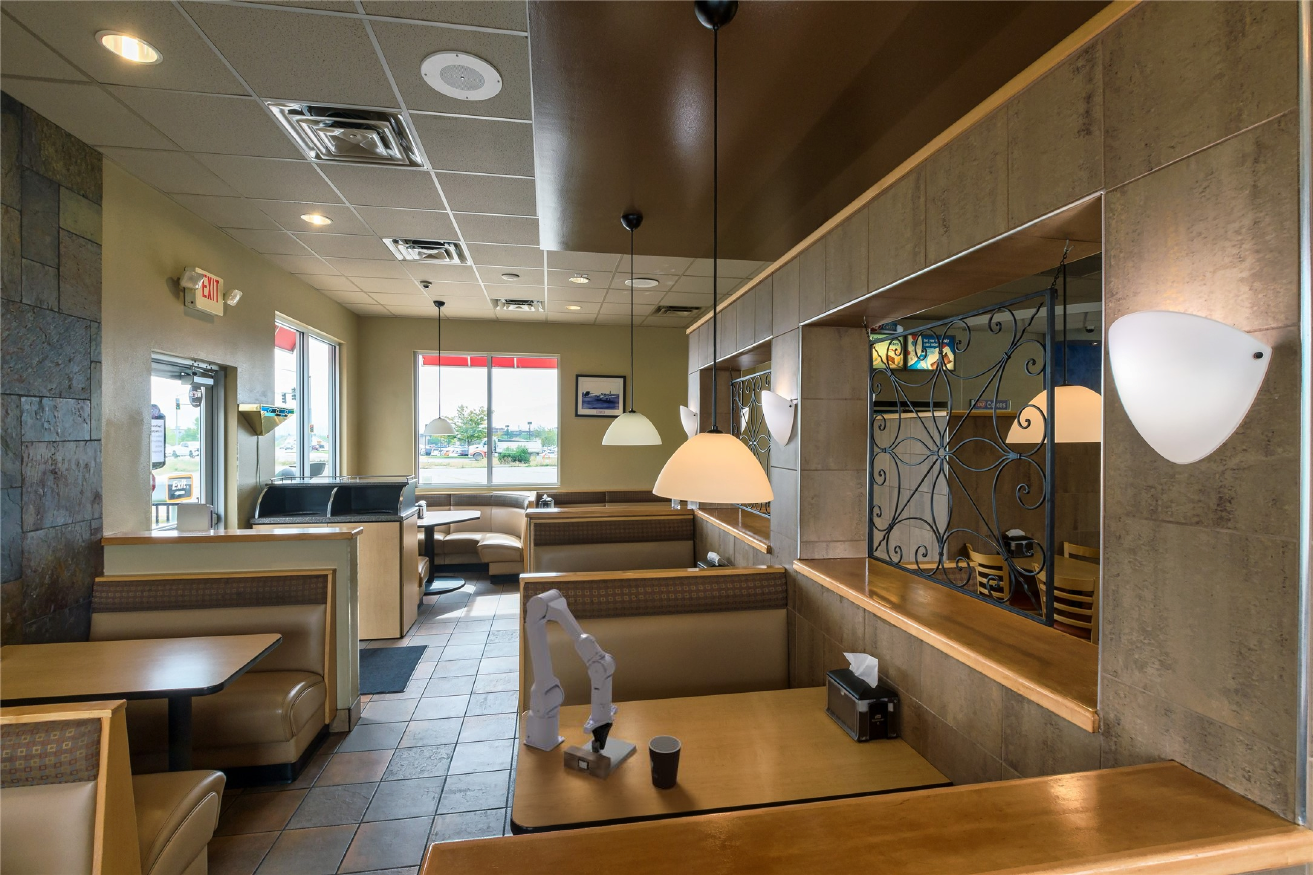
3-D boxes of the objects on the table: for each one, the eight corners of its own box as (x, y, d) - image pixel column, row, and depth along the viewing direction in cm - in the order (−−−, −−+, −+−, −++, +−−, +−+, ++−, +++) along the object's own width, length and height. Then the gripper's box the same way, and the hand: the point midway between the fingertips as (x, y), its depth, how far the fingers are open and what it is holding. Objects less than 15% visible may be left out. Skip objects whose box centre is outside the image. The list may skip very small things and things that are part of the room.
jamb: (563, 766, 153) (563, 750, 153) (571, 760, 156) (571, 744, 156) (603, 779, 147) (603, 763, 147) (610, 773, 150) (610, 757, 150)
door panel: (571, 760, 156) (571, 748, 156) (598, 737, 169) (598, 726, 169) (610, 773, 150) (610, 761, 150) (636, 748, 163) (636, 737, 163)
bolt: (579, 766, 150) (579, 749, 151) (593, 753, 157) (594, 738, 157) (586, 768, 149) (586, 752, 149) (601, 756, 156) (601, 740, 156)
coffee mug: (677, 794, 142) (678, 754, 142) (644, 789, 143) (645, 750, 143) (684, 768, 153) (685, 731, 153) (653, 764, 155) (654, 728, 155)
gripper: (599, 714, 150) (597, 765, 149) (626, 693, 162) (625, 740, 162) (577, 707, 153) (576, 757, 152) (606, 688, 166) (605, 734, 165)
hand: (600, 748), depth 158 cm, fingers closed
